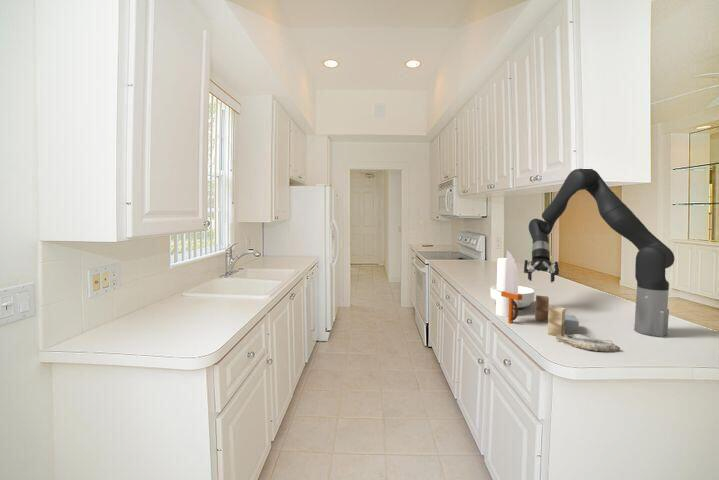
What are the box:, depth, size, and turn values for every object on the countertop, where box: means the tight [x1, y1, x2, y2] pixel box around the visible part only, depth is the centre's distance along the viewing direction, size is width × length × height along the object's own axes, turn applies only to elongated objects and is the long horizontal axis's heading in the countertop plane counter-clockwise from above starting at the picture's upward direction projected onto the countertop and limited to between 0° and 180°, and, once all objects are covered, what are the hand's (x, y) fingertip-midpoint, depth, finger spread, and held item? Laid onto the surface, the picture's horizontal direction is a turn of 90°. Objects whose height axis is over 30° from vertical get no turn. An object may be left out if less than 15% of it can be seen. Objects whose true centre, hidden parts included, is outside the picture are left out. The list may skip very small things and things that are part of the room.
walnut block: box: [534, 295, 550, 323], centre depth 149 cm, size 4×4×10 cm
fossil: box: [555, 333, 621, 353], centre depth 121 cm, size 18×10×3 cm, turn 52°
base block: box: [564, 314, 580, 334], centre depth 138 cm, size 8×8×5 cm
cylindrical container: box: [495, 257, 516, 318], centre depth 157 cm, size 7×7×25 cm
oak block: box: [547, 305, 566, 338], centre depth 132 cm, size 4×4×10 cm
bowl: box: [490, 284, 535, 309], centre depth 172 cm, size 20×20×8 cm
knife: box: [501, 250, 522, 324], centre depth 145 cm, size 8×2×30 cm, turn 27°
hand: (541, 280), depth 158 cm, fingers open, 8 cm apart
